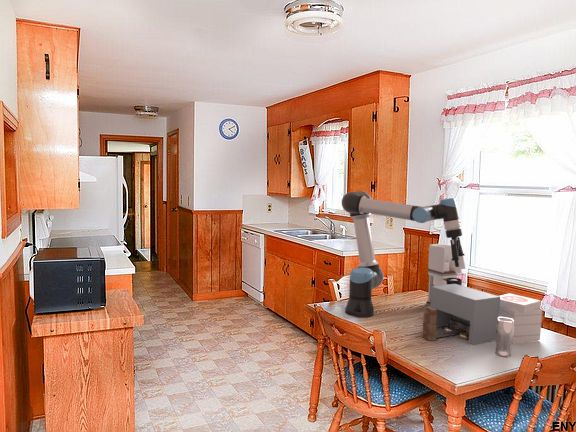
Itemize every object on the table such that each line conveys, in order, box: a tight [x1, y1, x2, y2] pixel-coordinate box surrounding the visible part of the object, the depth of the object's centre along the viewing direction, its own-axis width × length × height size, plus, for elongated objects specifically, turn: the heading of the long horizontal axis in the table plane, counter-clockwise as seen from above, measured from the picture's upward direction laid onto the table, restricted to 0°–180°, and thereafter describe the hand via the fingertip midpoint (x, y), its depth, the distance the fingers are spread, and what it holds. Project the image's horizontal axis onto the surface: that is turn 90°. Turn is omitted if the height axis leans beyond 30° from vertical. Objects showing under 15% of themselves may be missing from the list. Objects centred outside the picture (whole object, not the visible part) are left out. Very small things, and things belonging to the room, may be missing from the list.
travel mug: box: [446, 277, 463, 286], centre depth 241 cm, size 8×8×20 cm
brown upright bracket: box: [421, 305, 470, 342], centre depth 211 cm, size 18×25×14 cm
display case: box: [425, 243, 458, 306], centre depth 258 cm, size 11×11×35 cm
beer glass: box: [494, 317, 514, 358], centre depth 190 cm, size 7×7×15 cm
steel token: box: [443, 325, 457, 332], centre depth 219 cm, size 5×5×2 cm
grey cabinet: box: [430, 284, 500, 346], centre depth 215 cm, size 26×16×20 cm, turn 27°
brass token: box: [458, 332, 469, 340], centre depth 211 cm, size 5×5×2 cm
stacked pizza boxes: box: [498, 293, 543, 345], centre depth 217 cm, size 19×30×18 cm, turn 15°
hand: (460, 271), depth 228 cm, fingers open, 13 cm apart
